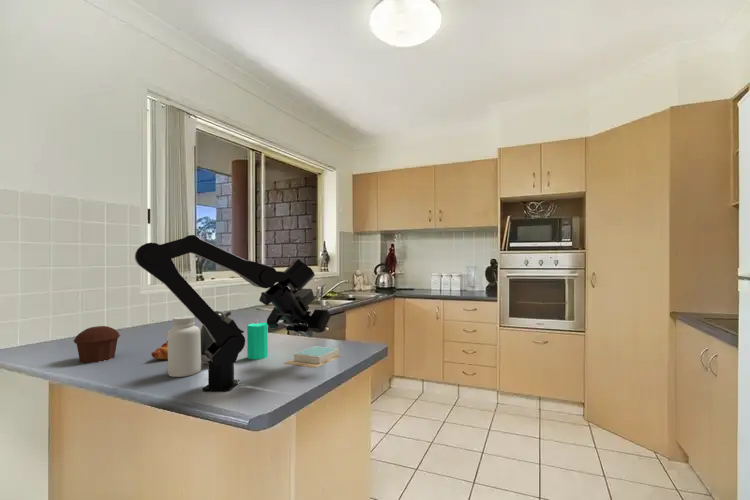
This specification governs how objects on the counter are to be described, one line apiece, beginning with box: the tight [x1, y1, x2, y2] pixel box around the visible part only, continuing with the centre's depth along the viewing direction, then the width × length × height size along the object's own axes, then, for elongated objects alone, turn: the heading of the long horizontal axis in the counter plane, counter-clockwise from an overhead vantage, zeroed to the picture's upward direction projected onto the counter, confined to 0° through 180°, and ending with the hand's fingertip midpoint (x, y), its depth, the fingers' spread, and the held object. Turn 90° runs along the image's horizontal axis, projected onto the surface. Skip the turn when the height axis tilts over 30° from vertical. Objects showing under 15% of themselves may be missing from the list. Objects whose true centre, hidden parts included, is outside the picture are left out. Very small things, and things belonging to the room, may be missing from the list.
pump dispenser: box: [200, 310, 232, 366], centre depth 111 cm, size 10×10×15 cm
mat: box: [283, 354, 343, 369], centre depth 111 cm, size 14×11×1 cm
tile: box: [293, 345, 340, 364], centre depth 112 cm, size 2×9×10 cm
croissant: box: [150, 340, 168, 360], centre depth 122 cm, size 21×10×8 cm, turn 157°
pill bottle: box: [166, 315, 202, 378], centre depth 101 cm, size 8×8×15 cm
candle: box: [246, 318, 269, 360], centre depth 115 cm, size 6×6×12 cm
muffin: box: [73, 325, 121, 364], centre depth 118 cm, size 12×11×10 cm
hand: (311, 336), depth 110 cm, fingers closed
